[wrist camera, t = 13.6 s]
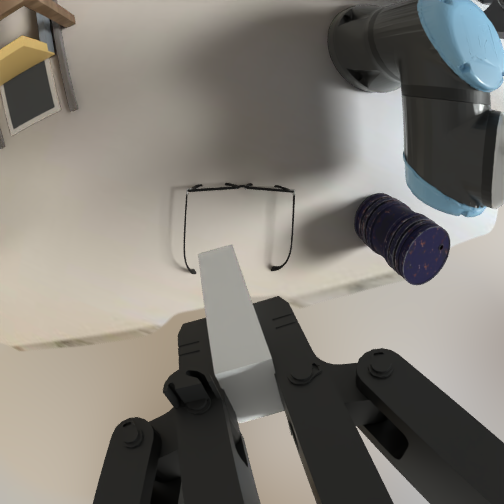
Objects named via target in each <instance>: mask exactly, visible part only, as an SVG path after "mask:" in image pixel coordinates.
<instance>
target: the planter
mask: <svg viewBox="0 0 504 504" xmlns="http://www.w3.org/2000/svg"><path fill="white" fill-rule="evenodd" d="M482 2H483V4H486V5H490V6H489V7H488V8H487V9H486V10H485V11H484V13H485V15H486V16H487V18H488V19H489V20H490V21H491V23H492V24H493V26H494V28H495V30H496V31H497V34H498V36H499V38H501V39H504V0H482Z"/></svg>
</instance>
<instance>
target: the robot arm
mask: <svg viewBox="0 0 504 504" xmlns="http://www.w3.org/2000/svg"><path fill="white" fill-rule="evenodd" d="M328 47H329V52H330V56H331V58H332V61H333V63H334V65H335V67H336V68H337V70H338V71H339V72H340V74H341V75H342V76H343V77H344V78H345V79H346V80H347V81H348V82H349V83H351V84H352V85H354V86H355V87H357V88H359V89H361V90H364V91H368V92H377V93H385V92H391V91H394V90H396V89H398V88H400V87H401V91H402V106H403V124H404V152H403V159H404V162H405V176H406V183H407V185H408V187H409V188H410V190H411V192H412V193H413V194H414V195H415V196H416V197H417V198H418V199H419V200H421V201H422V202H424V203H425V204H427V205H429V206H430V207H432V208H435V209H437V210H439V211H442V212H444V213H447V214H451V215H455V216H460V214H461V215H463V216H465V217H475V216H478V215H480V214H481V213H482V212H483V211H484V209H485V208H486V206H487V207H490V208H493V209H497V208H499V207H500V206H502V205H503V204H504V112H500V111H495V110H491V105H490V92H492V91H493V90H496V89H498V88H499V87H500V86H501V84H502V83H503V77H502V76H504V50H503V46H502V43H501V41H500V38H499V36H498V34H497V31H496V30H495V28H494V26H493V24H492V23H491V21H490V20H489V19H488V18H487V16H486V15H485V13H484V12H483V11H482V10H481V9H480V8H479V7H478V6H477V5H476V4H475V3H473V2H472V1H471V0H407V1H404V2H400V3H397V4H394V5H391V6H388V7H381V6H374V5H357V6H354V7H351V8H349V9H346V10H344V11H342V12H341V13H340V14H338V15H337V16H336V17H335V19H334V20H333V22H332V24H331V26H330V29H329V33H328ZM198 257H199V266H200V274H201V283H202V291H203V298H204V306H205V313H206V318H203V319H200V320H196V321H192V322H188V323H185V324H183V325H182V327H181V330H180V331H179V334H178V347H179V348H178V354H179V370H177V371H176V372H174V373H173V374H172V375H171V376H169V378H168V379H167V381H166V382H165V384H164V388H163V393H164V394H165V396H166V397H167V398H168V400H169V401H170V402H171V404H172V405H173V406H174V407H173V408H172V409H171V410H170V411H169V412H167V413H166V414H164V415H162V416H160V417H158V418H156V419H154V420H152V421H150V422H147V421H146V420H145V419H142V418H138V417H135V418H129V419H126V420H124V421H122V422H121V423H120V424H119V425H118V426H117V427H116V428H115V430H114V432H113V434H112V437H111V440H110V444H109V447H108V450H107V454H106V457H105V460H104V464H103V468H102V471H101V475H100V478H99V482H98V486H97V490H96V493H95V498H94V501H93V504H260V500H259V496H258V493H257V489H256V485H255V482H254V478H253V474H252V470H251V466H250V462H249V458H248V454H247V450H246V446H245V442H244V438H243V436H242V434H241V432H240V430H239V425H238V422H239V423H242V422H246V421H250V420H253V419H257V418H260V417H264V416H268V415H271V414H275V413H278V412H281V411H285V413H286V416H287V419H288V423H289V427H290V430H291V435H293V438H294V441H295V444H296V447H297V450H298V453H299V455H300V458H301V461H302V464H303V467H304V469H305V472H306V475H307V478H308V481H309V483H310V486H311V489H312V492H313V495H314V497H315V500H316V503H317V504H393V502H392V499H391V498H390V495H389V493H388V491H387V489H386V487H385V485H384V483H383V481H382V479H381V477H380V475H379V473H378V471H377V469H376V467H375V465H374V463H373V461H372V458H371V456H370V455H369V453H368V450H367V448H366V446H365V444H364V442H363V440H362V438H361V436H360V434H359V432H358V430H357V428H356V426H357V427H358V428H359V429H360V430H361V431H362V432H363V434H364V435H365V436H366V437H367V438H368V439H369V440H370V441H371V442H372V443H373V444H374V445H375V447H376V448H377V449H378V450H379V451H380V452H381V453H382V454H383V455H384V456H385V457H386V458H387V459H388V460H389V461H390V463H391V464H392V465H393V466H394V467H395V468H396V469H397V470H398V471H399V472H400V473H401V474H402V475H403V476H404V477H405V478H406V479H407V480H408V481H409V482H410V483H411V484H412V485H413V487H414V488H416V490H417V491H418V492H419V493H420V494H421V495H422V496H423V497H424V498H425V499H426V500H427V501H428V502H429V503H430V504H504V443H503V442H502V441H501V440H499V439H498V438H497V437H496V436H495V435H494V434H492V433H491V432H490V431H489V430H488V429H486V427H484V426H483V425H482V424H481V423H480V422H478V421H477V420H476V419H475V418H474V417H473V416H471V415H470V414H469V413H468V412H467V411H466V410H464V409H463V408H462V407H461V406H460V405H458V404H457V403H456V402H455V401H454V400H452V399H451V398H450V397H449V396H448V395H446V394H445V393H444V392H443V391H442V390H440V389H439V388H438V387H437V386H436V385H434V384H433V383H432V382H431V381H430V380H429V379H427V378H426V377H425V376H424V375H423V374H421V373H420V372H419V371H418V370H416V369H415V368H414V367H413V366H412V365H411V364H409V363H408V362H407V361H406V360H405V359H403V358H402V357H401V356H400V355H399V354H397V353H395V352H393V351H392V350H388V349H383V348H381V349H373V350H371V351H369V352H366V353H365V354H364V355H363V356H362V357H361V358H360V359H359V361H358V363H351V364H342V365H341V364H340V365H339V364H338V365H337V364H330V363H326V362H324V361H322V360H320V359H319V358H317V357H316V355H315V354H314V352H313V351H312V349H311V347H310V345H309V343H308V341H307V339H306V337H305V335H304V333H303V331H302V329H301V327H300V325H299V323H298V321H297V319H296V317H295V315H294V313H293V311H292V309H291V307H290V305H289V303H288V302H286V301H285V300H284V299H282V298H281V297H279V296H277V297H274V298H270V299H267V300H264V301H260V302H257V303H253V304H252V301H251V298H250V295H249V292H248V289H247V286H246V283H245V280H244V277H243V275H242V272H241V269H240V266H239V263H238V260H237V257H236V254H235V251H234V248H233V245H228V246H225V247H221V248H218V249H214V250H211V251H207V252H204V253H200V254H198ZM237 420H238V421H237Z"/></svg>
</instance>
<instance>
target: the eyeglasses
mask: <svg viewBox="0 0 504 504" xmlns="http://www.w3.org/2000/svg"><path fill="white" fill-rule="evenodd" d="M225 185H228V186H232V187H220V188H202V189H196V188H197V187H200V186H203V185H202V184H200V185H196V186H194V187H192V188H190V189H187V191H188V192H195V191H211V190H226V189H238V188H240V187H244V188H245V190H246V189H255V190H267V191H280V192H291V193H293V215H292V236H291V248H290V253H289V256H288V258H287V260H286V262H285V263H284V264H283V265H281V266H273V267H272V269H271V271H276V270H279V269H281V268H282V267H283V266H284V265H285V264H286V263H287V261H288V259H289V257H290V254H291V249H292V240H293V224H294V205H295V190H291V189H288V188H285V187H281V186H278V185H275V186H274V187H277V188H281V189H271V188H260V187H249V186H251V185H253V184H251V183H250V184H247V185H246V186H245V185H240V186H237V185H234V184H229V183H225ZM187 191H186V206H185V223H184V259H185V263H186V266H187V268H188V270H189V271H190V272H191V273H192V274H196V271H195V270H194V269H193V270H191V269H190V268H189V267H188V265H187V262H186V258H185V228H186V209H187V195H188V194H189V193H188V192H187Z"/></svg>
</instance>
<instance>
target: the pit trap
mask: <svg viewBox="0 0 504 504" xmlns="http://www.w3.org/2000/svg"><path fill="white" fill-rule="evenodd" d="M0 91H1V96H2V101H3V105H4V110H5V114H6V118H7V122H8V126H9V130H10V134H11V136H13V135H14V134H16V133H18V132H20V131H21V130H23V129H25V128H27V127H29V126H30V125H32V124H34V123H36V122H38V121H40V120H42V119H44V118H46V117H48V116H50V115H52V114H54V113H56V112H58V111H60V110H61V108H60V104H59V100H58V96H57V91H56V87H55V83H54V78H53V73H52V69H51V63H50V58H47V59H45V60H44V61H42V62H40V63H38V64H36V65H34V66H33V67H31V68H29V69H27V70H26V71H24V72H22V73H21V74H19V75H17V76H16V77H14V78H12V79H11V80H9V81H8V82H6V83H4V84H3V85H1V86H0Z"/></svg>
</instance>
